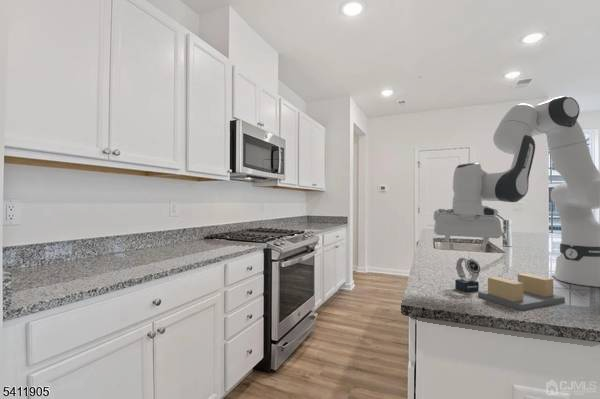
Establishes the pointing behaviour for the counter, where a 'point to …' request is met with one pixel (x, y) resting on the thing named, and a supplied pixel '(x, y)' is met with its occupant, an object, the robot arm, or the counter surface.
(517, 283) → the holder
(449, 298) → the counter surface
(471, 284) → the watch
